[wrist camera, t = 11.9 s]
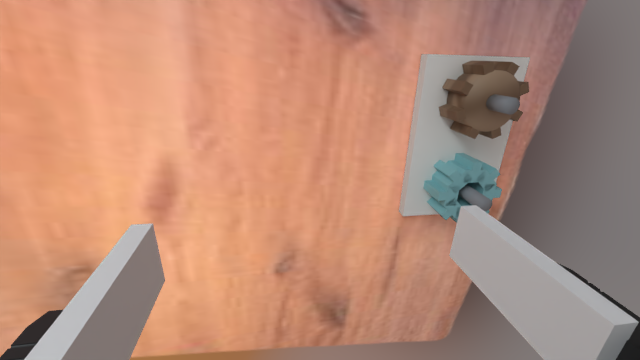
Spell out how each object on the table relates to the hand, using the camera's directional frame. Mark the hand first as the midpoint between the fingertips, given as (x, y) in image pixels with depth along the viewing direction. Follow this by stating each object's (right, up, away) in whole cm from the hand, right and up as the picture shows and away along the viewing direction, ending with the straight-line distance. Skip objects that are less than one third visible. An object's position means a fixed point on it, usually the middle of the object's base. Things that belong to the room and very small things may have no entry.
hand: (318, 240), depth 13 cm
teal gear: (+19, +2, +30) cm, 36 cm away
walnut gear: (+20, +13, +26) cm, 35 cm away
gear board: (+19, +8, +29) cm, 36 cm away
